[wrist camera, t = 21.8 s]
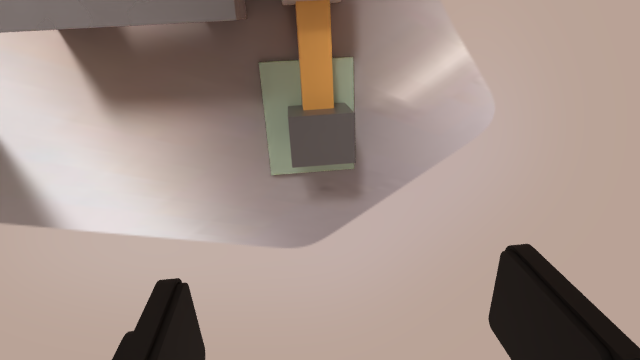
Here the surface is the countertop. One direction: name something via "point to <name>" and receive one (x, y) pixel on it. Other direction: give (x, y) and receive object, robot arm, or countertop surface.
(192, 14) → the block
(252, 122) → the countertop surface
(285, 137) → the mat
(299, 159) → the plug
